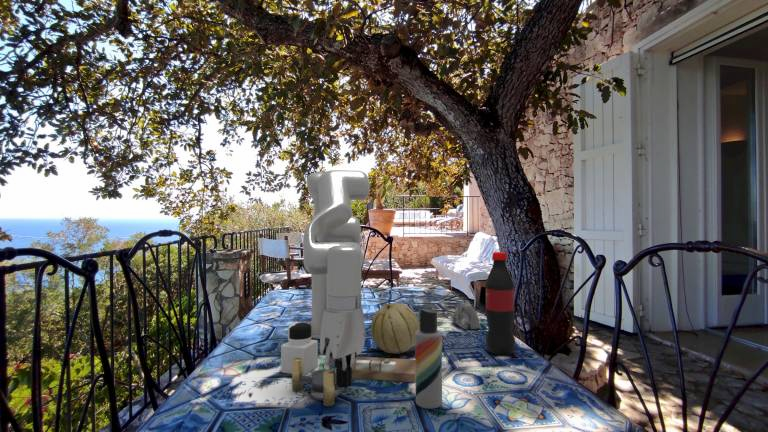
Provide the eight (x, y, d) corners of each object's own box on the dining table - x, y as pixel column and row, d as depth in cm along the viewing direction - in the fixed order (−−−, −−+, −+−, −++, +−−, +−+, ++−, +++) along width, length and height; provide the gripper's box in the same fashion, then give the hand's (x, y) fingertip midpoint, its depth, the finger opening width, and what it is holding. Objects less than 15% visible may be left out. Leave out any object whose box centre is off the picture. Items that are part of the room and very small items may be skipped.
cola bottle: (511, 348, 121) (510, 251, 121) (518, 357, 112) (517, 252, 113) (483, 347, 121) (482, 250, 122) (488, 356, 113) (487, 252, 114)
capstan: (291, 388, 92) (291, 358, 92) (348, 380, 96) (348, 352, 96) (296, 411, 80) (296, 377, 80) (361, 401, 84) (361, 369, 84)
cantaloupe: (426, 348, 121) (426, 299, 121) (409, 363, 108) (409, 309, 108) (383, 342, 127) (383, 296, 127) (362, 356, 114) (362, 304, 114)
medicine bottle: (318, 366, 106) (318, 322, 106) (304, 376, 99) (304, 328, 99) (295, 363, 108) (295, 320, 109) (280, 372, 101) (280, 326, 102)
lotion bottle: (413, 397, 86) (413, 306, 87) (438, 396, 87) (438, 306, 87) (418, 410, 81) (417, 312, 81) (445, 408, 81) (444, 312, 82)
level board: (335, 377, 98) (335, 358, 98) (346, 363, 108) (346, 346, 108) (415, 382, 95) (414, 362, 95) (418, 367, 105) (418, 349, 105)
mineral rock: (453, 320, 156) (453, 295, 156) (481, 322, 153) (480, 296, 153) (449, 329, 143) (449, 301, 144) (479, 331, 140) (479, 303, 141)
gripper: (354, 294, 94) (354, 370, 94) (306, 305, 82) (306, 392, 82) (378, 298, 89) (378, 378, 89) (331, 311, 77) (331, 403, 78)
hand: (344, 385), depth 86 cm, fingers closed
